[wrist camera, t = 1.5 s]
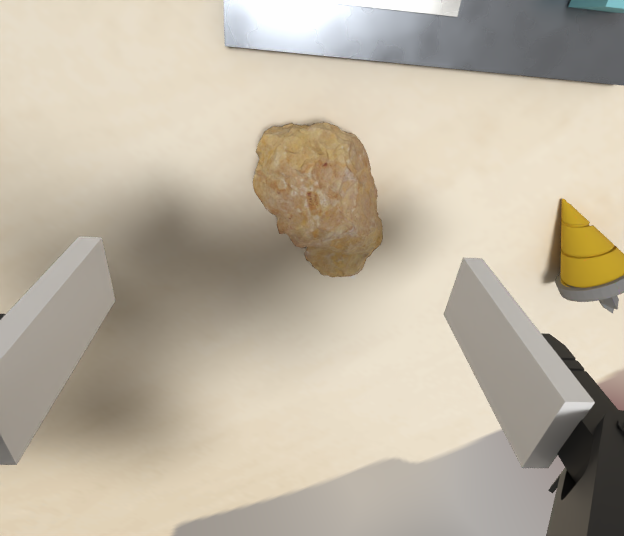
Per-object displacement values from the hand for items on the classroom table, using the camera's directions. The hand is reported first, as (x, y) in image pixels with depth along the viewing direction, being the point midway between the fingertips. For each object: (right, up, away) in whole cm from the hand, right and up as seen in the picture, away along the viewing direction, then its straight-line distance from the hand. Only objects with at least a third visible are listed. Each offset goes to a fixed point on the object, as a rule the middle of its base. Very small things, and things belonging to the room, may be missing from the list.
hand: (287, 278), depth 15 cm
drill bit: (+24, -3, +16) cm, 29 cm away
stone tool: (-3, +8, +11) cm, 13 cm away
